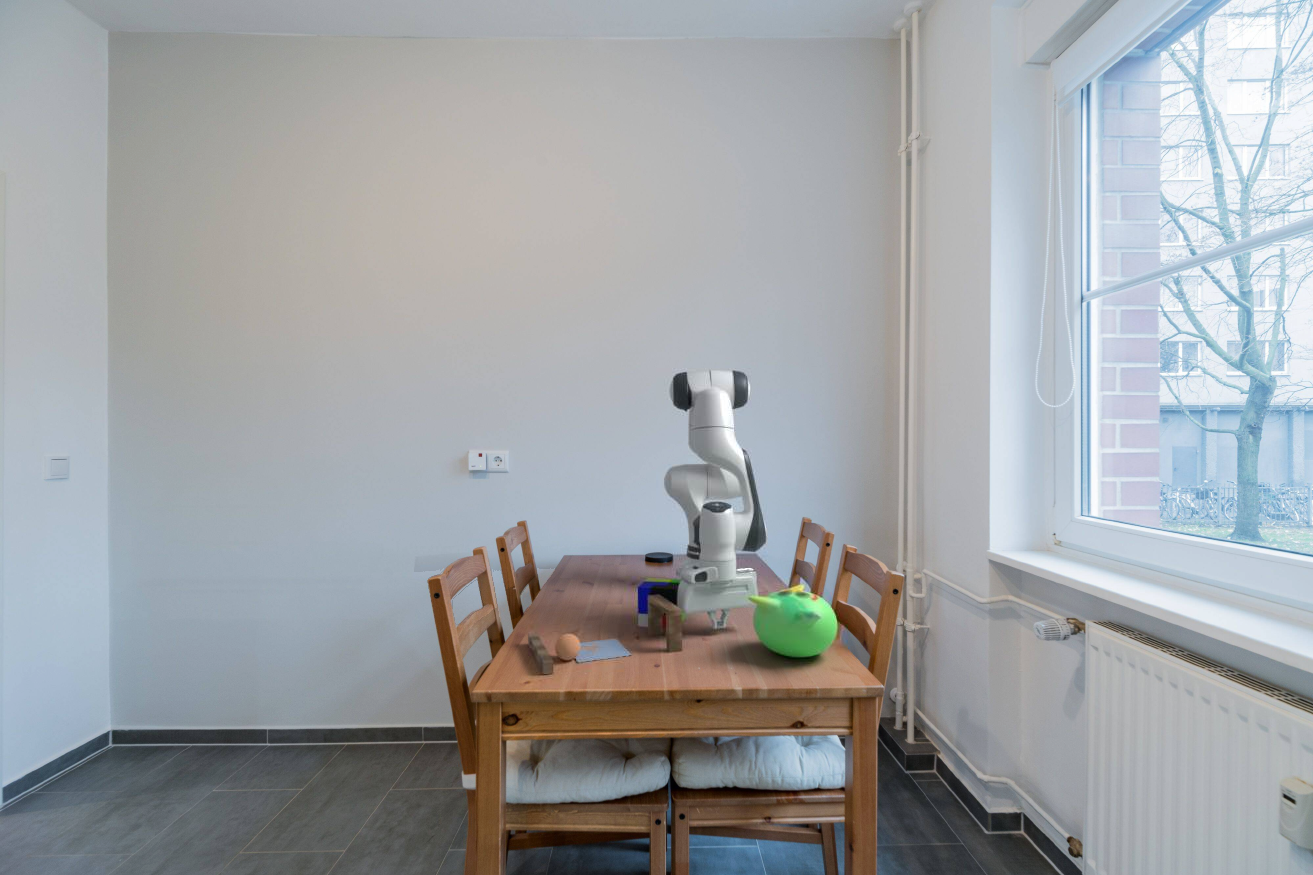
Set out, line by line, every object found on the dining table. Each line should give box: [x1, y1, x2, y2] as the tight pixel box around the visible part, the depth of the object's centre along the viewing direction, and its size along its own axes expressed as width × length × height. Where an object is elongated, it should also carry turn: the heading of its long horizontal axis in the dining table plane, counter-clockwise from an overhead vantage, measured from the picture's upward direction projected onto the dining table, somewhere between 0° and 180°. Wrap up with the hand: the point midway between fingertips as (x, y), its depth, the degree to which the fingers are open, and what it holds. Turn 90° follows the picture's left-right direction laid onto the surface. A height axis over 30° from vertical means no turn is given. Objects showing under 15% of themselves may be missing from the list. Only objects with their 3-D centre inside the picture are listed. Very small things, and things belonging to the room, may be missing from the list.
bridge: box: [647, 595, 683, 653], centre depth 149 cm, size 3×14×9 cm, turn 20°
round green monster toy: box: [748, 584, 838, 658], centre depth 139 cm, size 18×17×15 cm
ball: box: [554, 633, 581, 661], centre depth 138 cm, size 6×6×6 cm
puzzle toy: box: [637, 578, 686, 629], centre depth 165 cm, size 10×10×10 cm
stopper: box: [527, 632, 554, 675], centre depth 139 cm, size 20×2×2 cm, turn 20°
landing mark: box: [574, 638, 632, 664], centre depth 143 cm, size 12×12×1 cm
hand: (718, 627), depth 154 cm, fingers closed
